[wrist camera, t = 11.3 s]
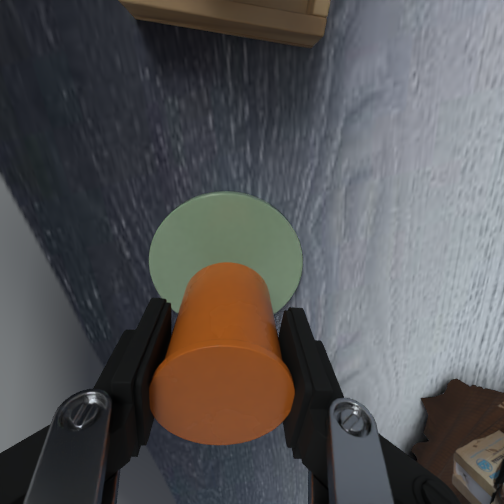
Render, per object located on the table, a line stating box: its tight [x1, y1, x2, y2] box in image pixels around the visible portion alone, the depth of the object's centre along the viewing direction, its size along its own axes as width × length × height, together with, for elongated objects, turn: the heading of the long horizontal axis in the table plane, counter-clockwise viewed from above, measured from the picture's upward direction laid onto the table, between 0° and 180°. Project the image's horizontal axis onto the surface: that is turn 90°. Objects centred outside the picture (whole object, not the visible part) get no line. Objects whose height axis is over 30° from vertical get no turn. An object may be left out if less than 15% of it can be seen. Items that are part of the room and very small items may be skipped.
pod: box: [149, 262, 295, 445], centre depth 11 cm, size 5×5×6 cm
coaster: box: [149, 191, 303, 314], centre depth 16 cm, size 9×9×1 cm
